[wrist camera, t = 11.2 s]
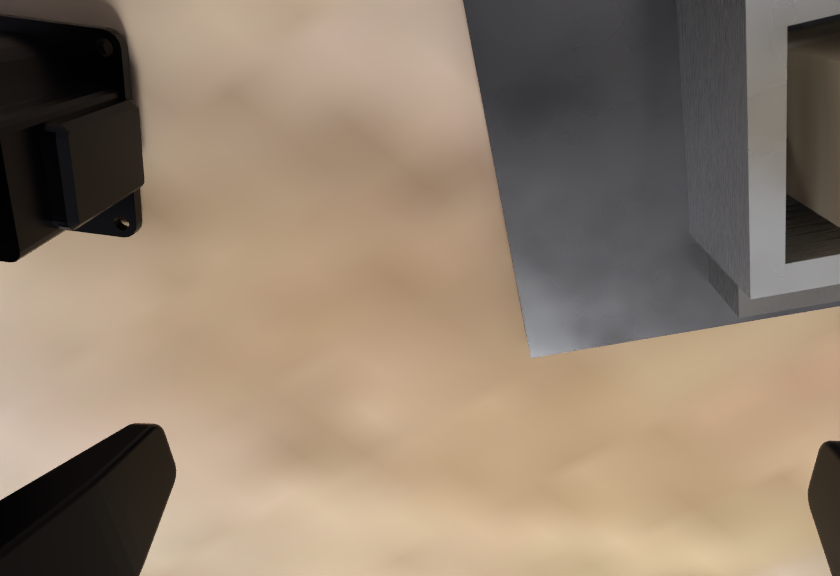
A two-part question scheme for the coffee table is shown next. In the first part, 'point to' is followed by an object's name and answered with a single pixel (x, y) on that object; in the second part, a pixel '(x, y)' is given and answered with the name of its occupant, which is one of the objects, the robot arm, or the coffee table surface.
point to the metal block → (814, 118)
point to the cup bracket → (648, 165)
